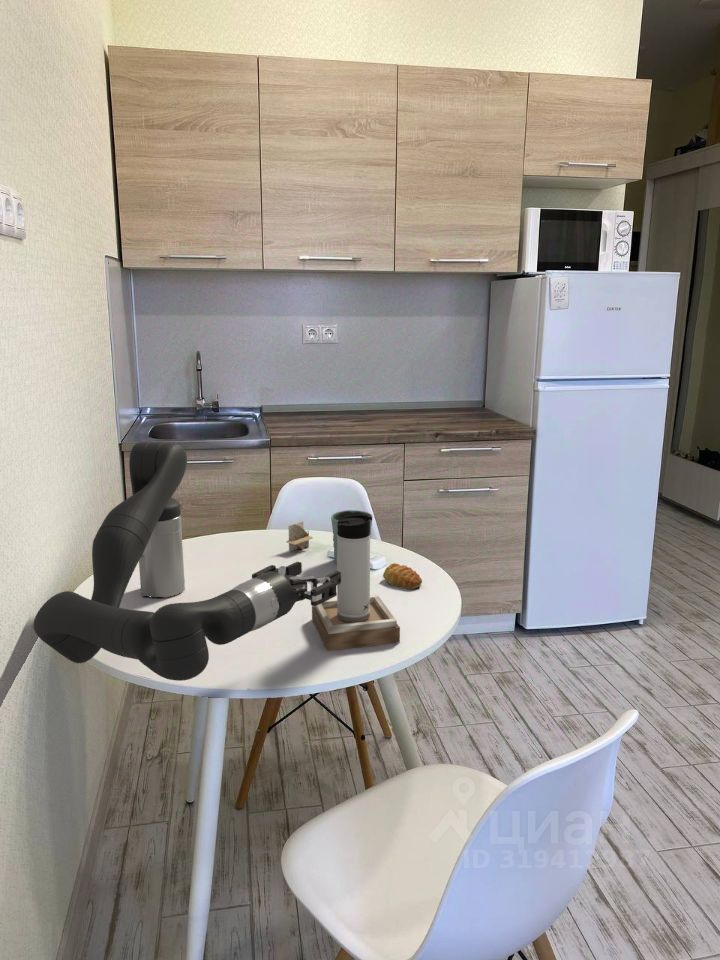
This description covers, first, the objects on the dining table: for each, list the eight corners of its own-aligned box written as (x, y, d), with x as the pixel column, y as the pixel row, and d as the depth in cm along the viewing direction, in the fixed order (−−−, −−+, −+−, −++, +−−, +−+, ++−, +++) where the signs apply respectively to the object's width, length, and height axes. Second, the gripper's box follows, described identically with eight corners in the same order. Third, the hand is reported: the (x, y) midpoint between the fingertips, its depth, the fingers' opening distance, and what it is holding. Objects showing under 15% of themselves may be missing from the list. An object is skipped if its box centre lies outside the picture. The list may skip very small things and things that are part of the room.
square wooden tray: (326, 650, 130) (326, 629, 129) (312, 619, 143) (311, 600, 142) (399, 642, 133) (400, 621, 132) (378, 612, 146) (379, 593, 145)
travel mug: (375, 621, 135) (376, 520, 130) (342, 625, 133) (342, 522, 129) (365, 608, 141) (366, 511, 136) (333, 612, 139) (333, 513, 134)
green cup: (367, 554, 182) (367, 509, 179) (376, 567, 172) (377, 520, 169) (328, 556, 180) (327, 511, 177) (335, 570, 170) (335, 522, 167)
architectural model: (313, 550, 186) (313, 523, 184) (295, 557, 181) (295, 529, 179) (303, 547, 188) (303, 520, 186) (285, 554, 183) (285, 526, 181)
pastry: (429, 586, 161) (429, 570, 160) (408, 593, 157) (408, 577, 156) (400, 574, 168) (400, 559, 167) (379, 581, 164) (379, 566, 163)
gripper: (226, 613, 117) (288, 583, 130) (294, 634, 109) (352, 600, 122) (224, 570, 115) (287, 544, 128) (293, 589, 107) (353, 559, 121)
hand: (319, 571), depth 125 cm, fingers open, 8 cm apart
